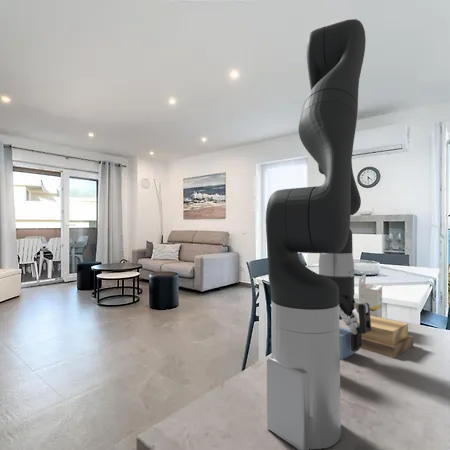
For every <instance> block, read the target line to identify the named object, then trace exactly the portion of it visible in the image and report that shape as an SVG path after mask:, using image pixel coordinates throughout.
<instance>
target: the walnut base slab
mask: <svg viewBox="0 0 450 450" xmlns="http://www.w3.org/2000/svg"><path fill="white" fill-rule="evenodd" d="M412 347H414V335H409V334H408V337H406V338H404V339H403V340H401V341H399V342H398V343H396V344H394V345H390V344H386V343H382V342H379V341H375V340H372V339H368V338H364V337H362V346H361V348H360V349H362V350H366V351H369V352H371V353H372V352H373V353H375V354H379V355H381V356H386V357H389V358H391V359H395V358H397V357H398V356H400V355H402V354H403V353H405V352H406V351H408V350H409V349H411V348H412Z"/></svg>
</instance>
